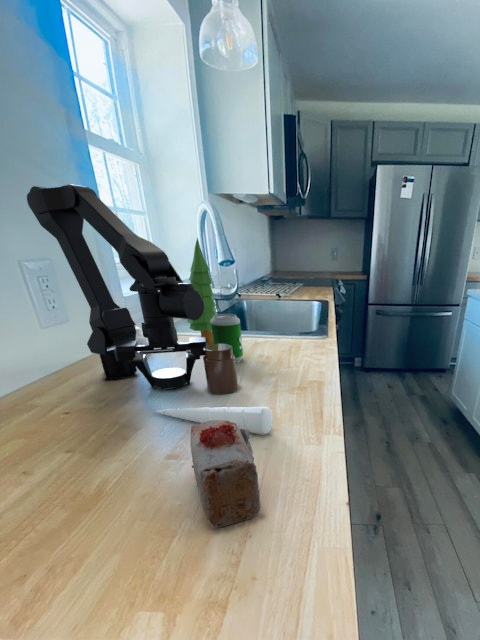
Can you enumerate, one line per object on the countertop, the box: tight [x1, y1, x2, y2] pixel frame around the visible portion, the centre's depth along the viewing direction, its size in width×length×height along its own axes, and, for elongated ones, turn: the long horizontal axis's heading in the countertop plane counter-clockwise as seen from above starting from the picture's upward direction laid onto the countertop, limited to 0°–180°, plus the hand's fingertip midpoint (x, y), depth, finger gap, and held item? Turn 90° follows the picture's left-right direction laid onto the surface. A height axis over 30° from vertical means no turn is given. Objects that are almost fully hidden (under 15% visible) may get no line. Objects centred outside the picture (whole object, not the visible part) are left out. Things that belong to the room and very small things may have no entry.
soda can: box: [211, 313, 244, 364], centre depth 98 cm, size 8×8×12 cm
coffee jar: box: [202, 344, 239, 395], centre depth 80 cm, size 7×7×10 cm
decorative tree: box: [186, 237, 218, 345], centre depth 108 cm, size 10×9×30 cm
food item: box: [190, 420, 261, 528], centre depth 47 cm, size 14×8×10 cm, turn 24°
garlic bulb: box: [135, 326, 149, 345], centre depth 106 cm, size 6×6×7 cm
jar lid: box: [151, 367, 187, 390], centre depth 83 cm, size 7×7×2 cm
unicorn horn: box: [155, 406, 274, 435], centre depth 67 cm, size 5×24×5 cm, turn 69°
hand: (171, 385), depth 84 cm, fingers closed on jar lid, 7 cm apart
